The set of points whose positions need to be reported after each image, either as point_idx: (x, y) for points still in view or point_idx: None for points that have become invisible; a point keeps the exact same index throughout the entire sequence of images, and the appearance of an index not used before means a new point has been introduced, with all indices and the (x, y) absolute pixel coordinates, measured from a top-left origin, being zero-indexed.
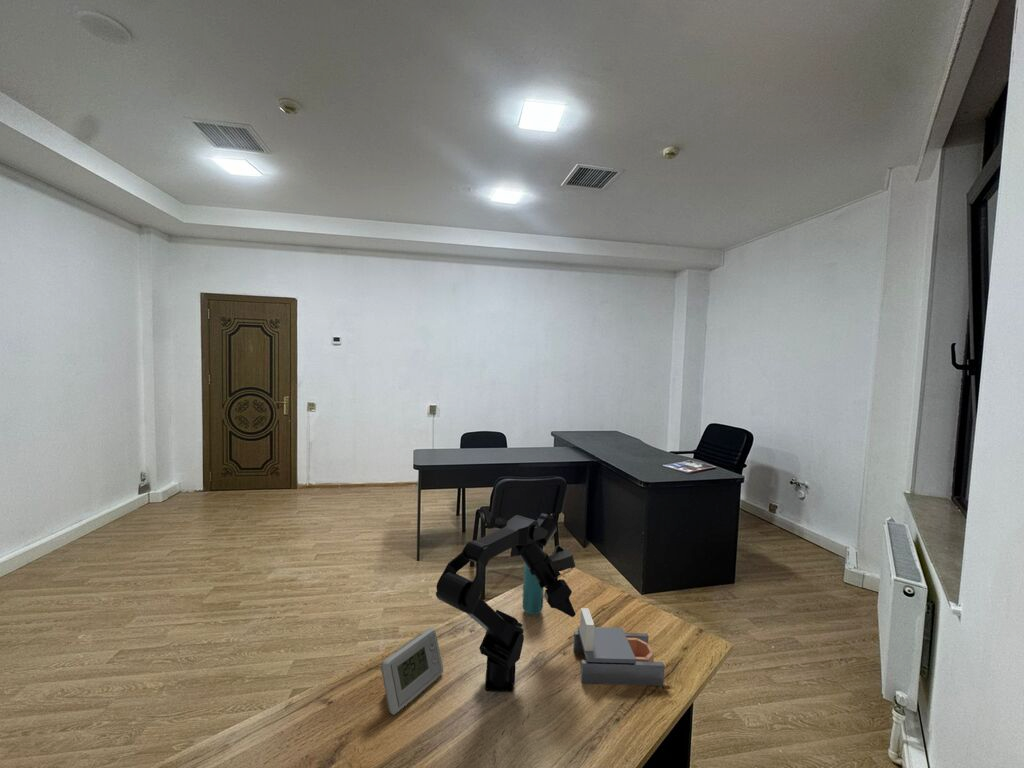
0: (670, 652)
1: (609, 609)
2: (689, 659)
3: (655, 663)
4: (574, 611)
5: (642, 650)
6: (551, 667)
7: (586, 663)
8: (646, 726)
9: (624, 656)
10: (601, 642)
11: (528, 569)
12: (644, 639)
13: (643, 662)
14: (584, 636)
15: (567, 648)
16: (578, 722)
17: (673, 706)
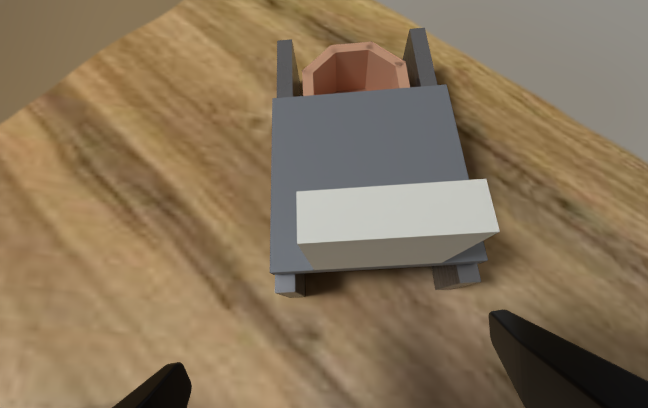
0: (288, 34)
1: (89, 143)
2: (311, 4)
3: (419, 47)
4: (537, 326)
5: (328, 78)
6: (393, 397)
7: (477, 265)
8: (561, 139)
9: (441, 117)
10: (372, 185)
11: None
12: (293, 58)
13: (423, 75)
14: (429, 254)
15: (285, 318)
16: (620, 322)
17: (475, 69)
